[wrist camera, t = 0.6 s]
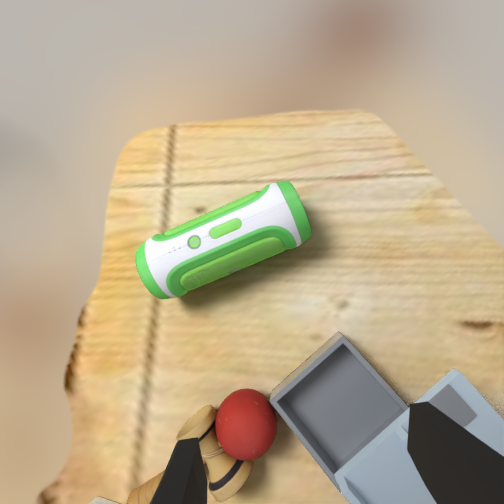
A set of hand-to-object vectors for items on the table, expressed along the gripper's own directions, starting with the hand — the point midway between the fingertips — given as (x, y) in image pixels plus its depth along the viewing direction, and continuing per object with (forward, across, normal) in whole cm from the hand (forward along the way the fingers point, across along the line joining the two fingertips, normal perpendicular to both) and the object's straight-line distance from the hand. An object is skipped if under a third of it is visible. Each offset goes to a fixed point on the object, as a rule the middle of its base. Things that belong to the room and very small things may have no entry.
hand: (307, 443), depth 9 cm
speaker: (+26, +2, 0) cm, 26 cm away
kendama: (+17, +7, +20) cm, 27 cm away
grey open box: (+16, -7, +15) cm, 23 cm away
